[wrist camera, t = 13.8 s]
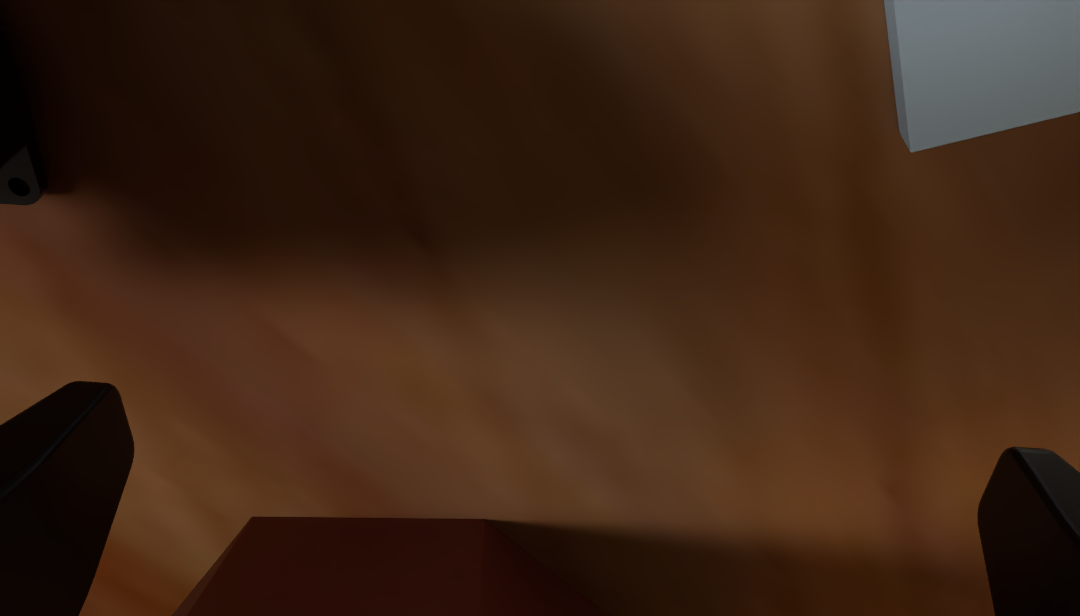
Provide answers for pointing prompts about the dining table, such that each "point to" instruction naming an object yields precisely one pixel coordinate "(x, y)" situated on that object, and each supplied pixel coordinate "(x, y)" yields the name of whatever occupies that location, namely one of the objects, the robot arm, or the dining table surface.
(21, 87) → the robot arm
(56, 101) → the dining table surface
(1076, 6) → the socket
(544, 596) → the bucket
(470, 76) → the dining table surface
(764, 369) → the dining table surface
